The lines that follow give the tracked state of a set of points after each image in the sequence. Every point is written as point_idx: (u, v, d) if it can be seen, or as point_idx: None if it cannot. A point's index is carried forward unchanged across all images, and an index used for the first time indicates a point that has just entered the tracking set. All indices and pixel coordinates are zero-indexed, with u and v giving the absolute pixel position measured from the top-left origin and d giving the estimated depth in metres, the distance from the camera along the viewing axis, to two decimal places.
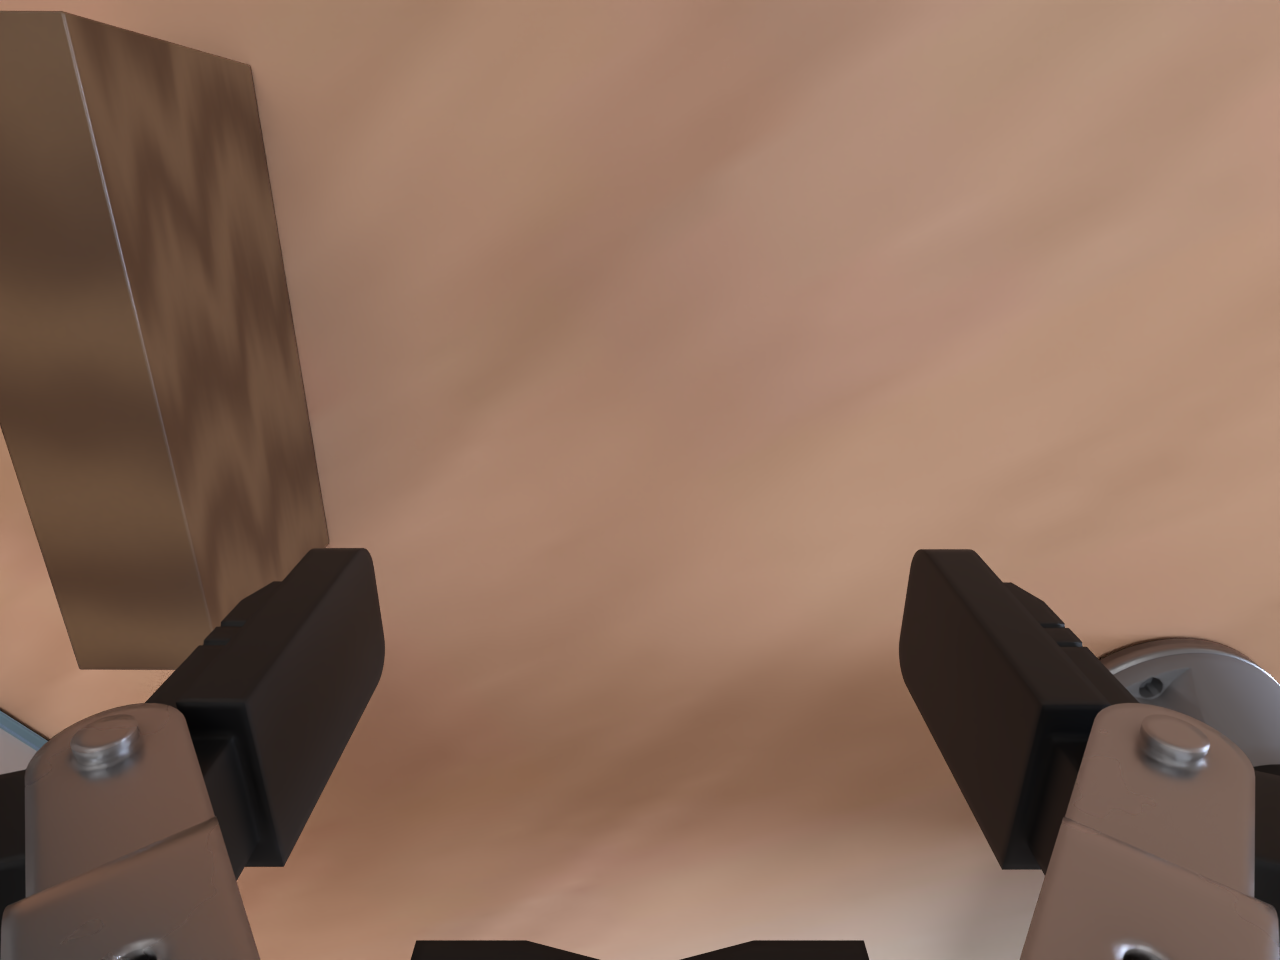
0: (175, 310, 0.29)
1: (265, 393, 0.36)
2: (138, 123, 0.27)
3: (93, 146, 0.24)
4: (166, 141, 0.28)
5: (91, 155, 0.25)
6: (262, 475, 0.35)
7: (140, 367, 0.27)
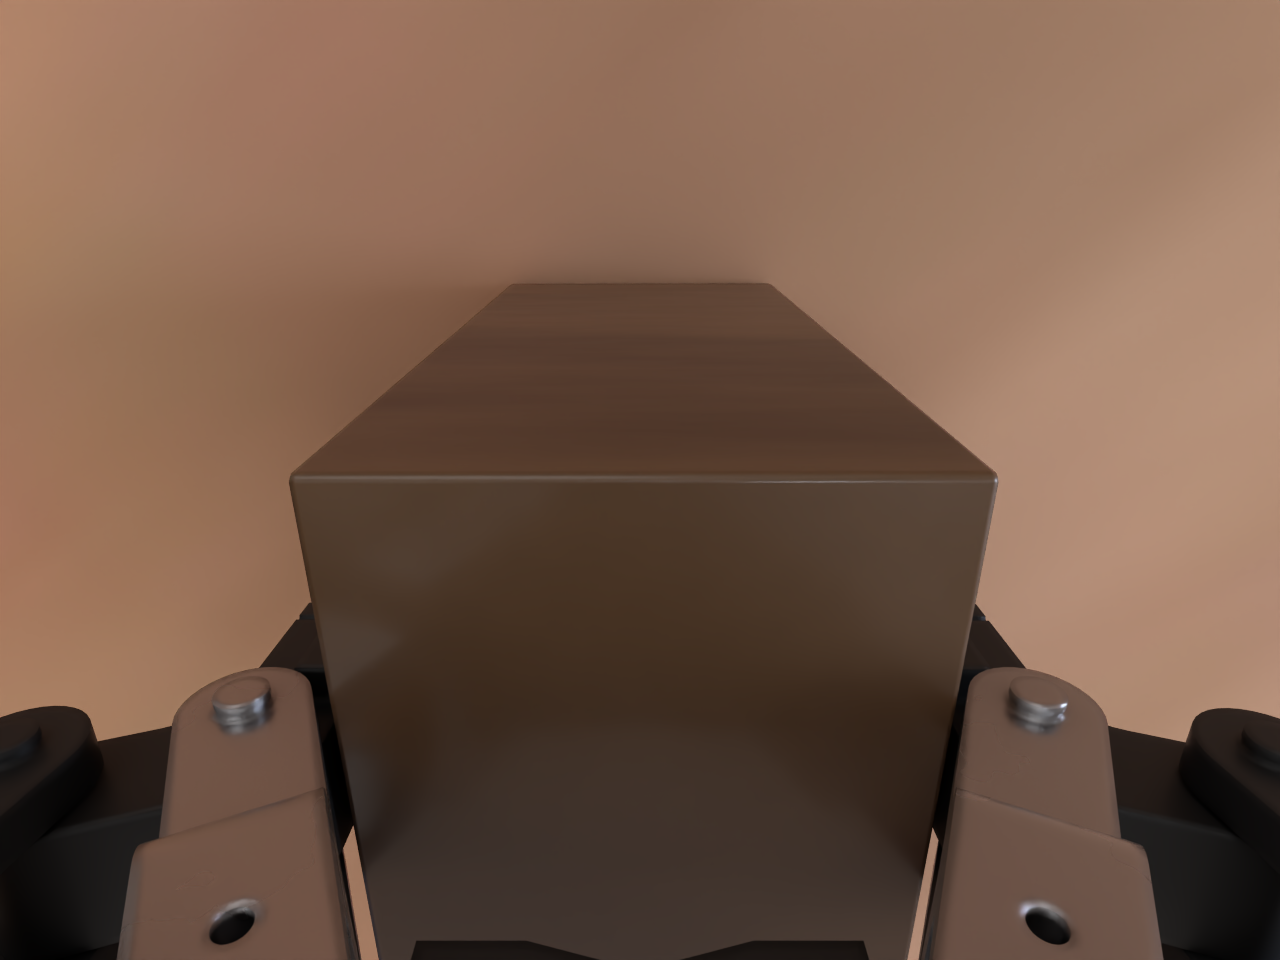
0: None
1: None
2: None
3: (930, 817, 0.08)
4: None
5: (913, 838, 0.08)
6: None
7: None
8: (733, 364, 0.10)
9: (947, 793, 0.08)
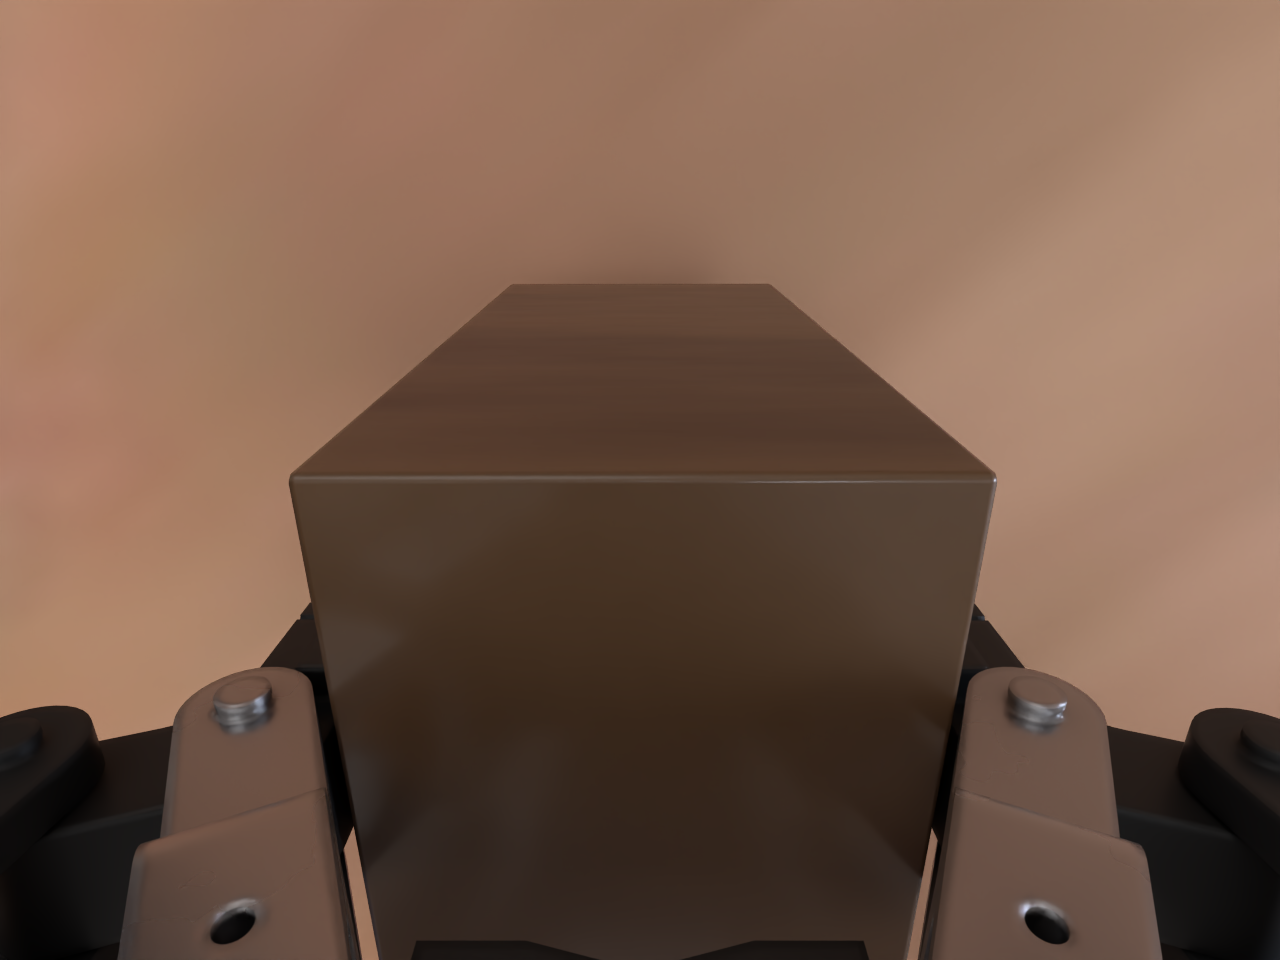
0: None
1: None
2: None
3: (930, 817, 0.08)
4: None
5: (912, 837, 0.08)
6: None
7: None
8: (732, 364, 0.10)
9: (947, 793, 0.08)
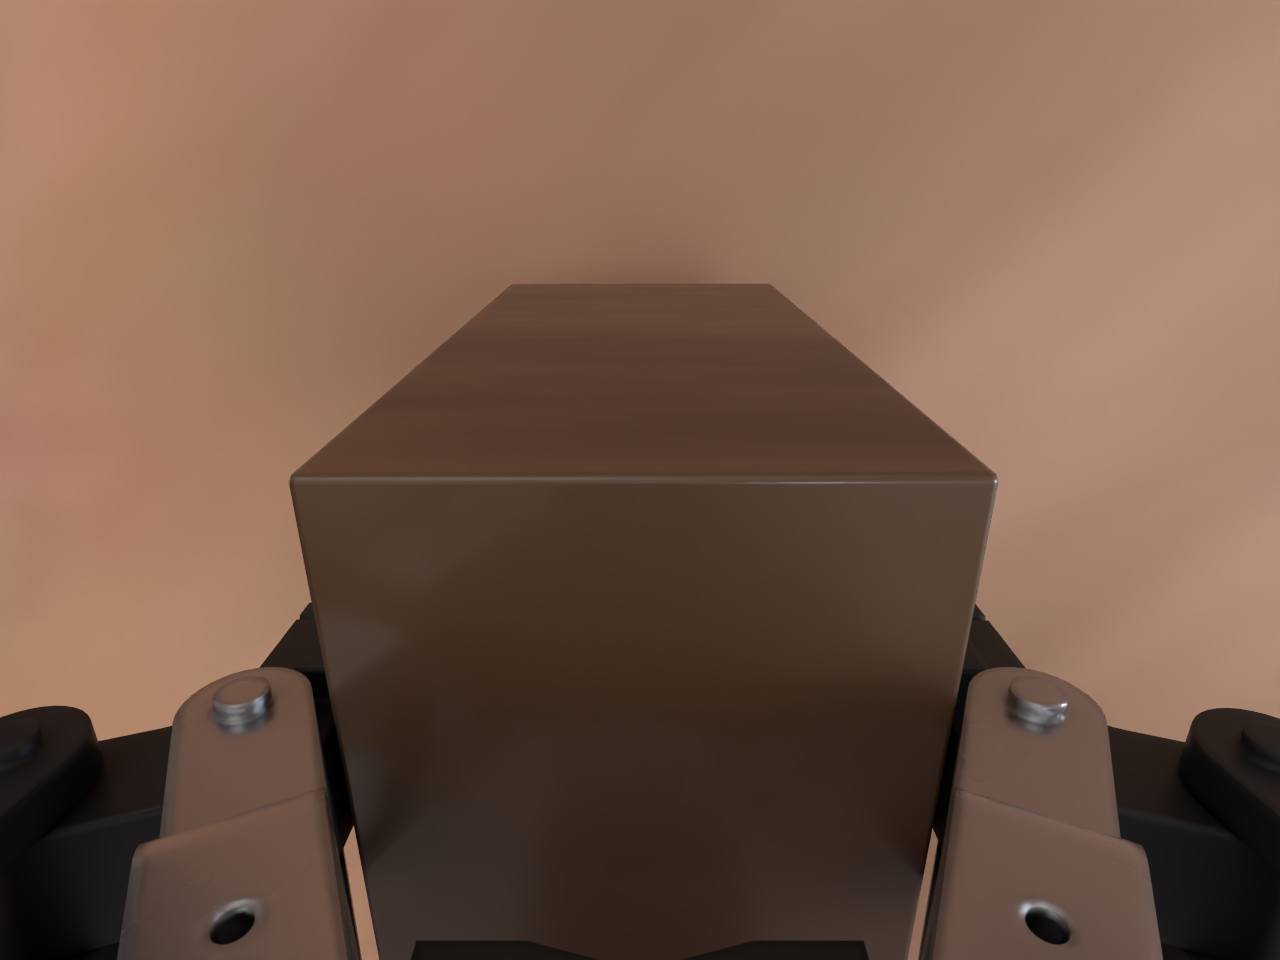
0: None
1: None
2: None
3: (931, 817, 0.08)
4: None
5: (914, 838, 0.08)
6: None
7: None
8: (733, 365, 0.10)
9: (947, 793, 0.08)
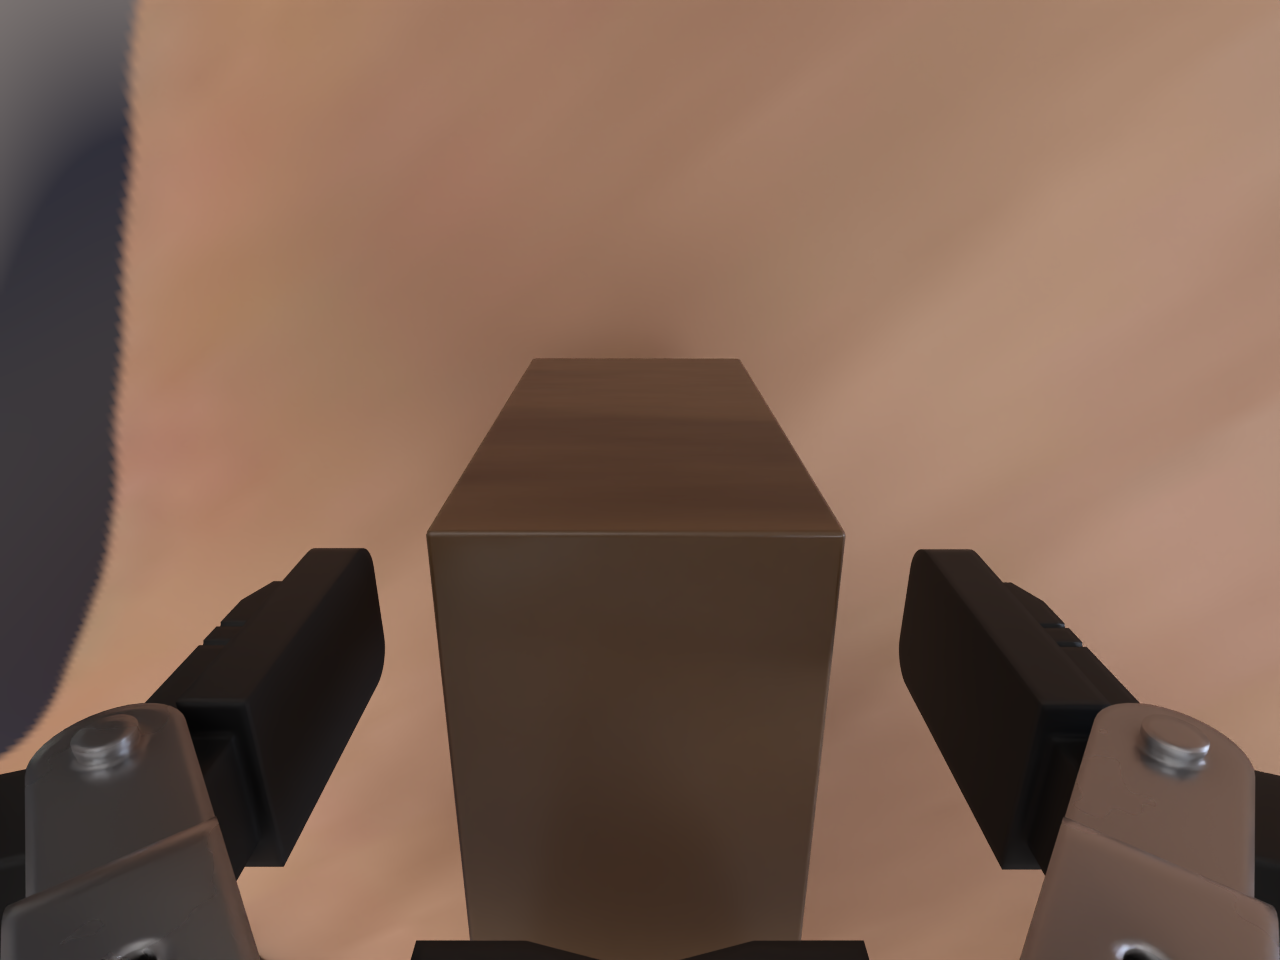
0: None
1: None
2: None
3: (819, 746, 0.12)
4: None
5: (809, 760, 0.12)
6: None
7: None
8: (699, 445, 0.14)
9: None
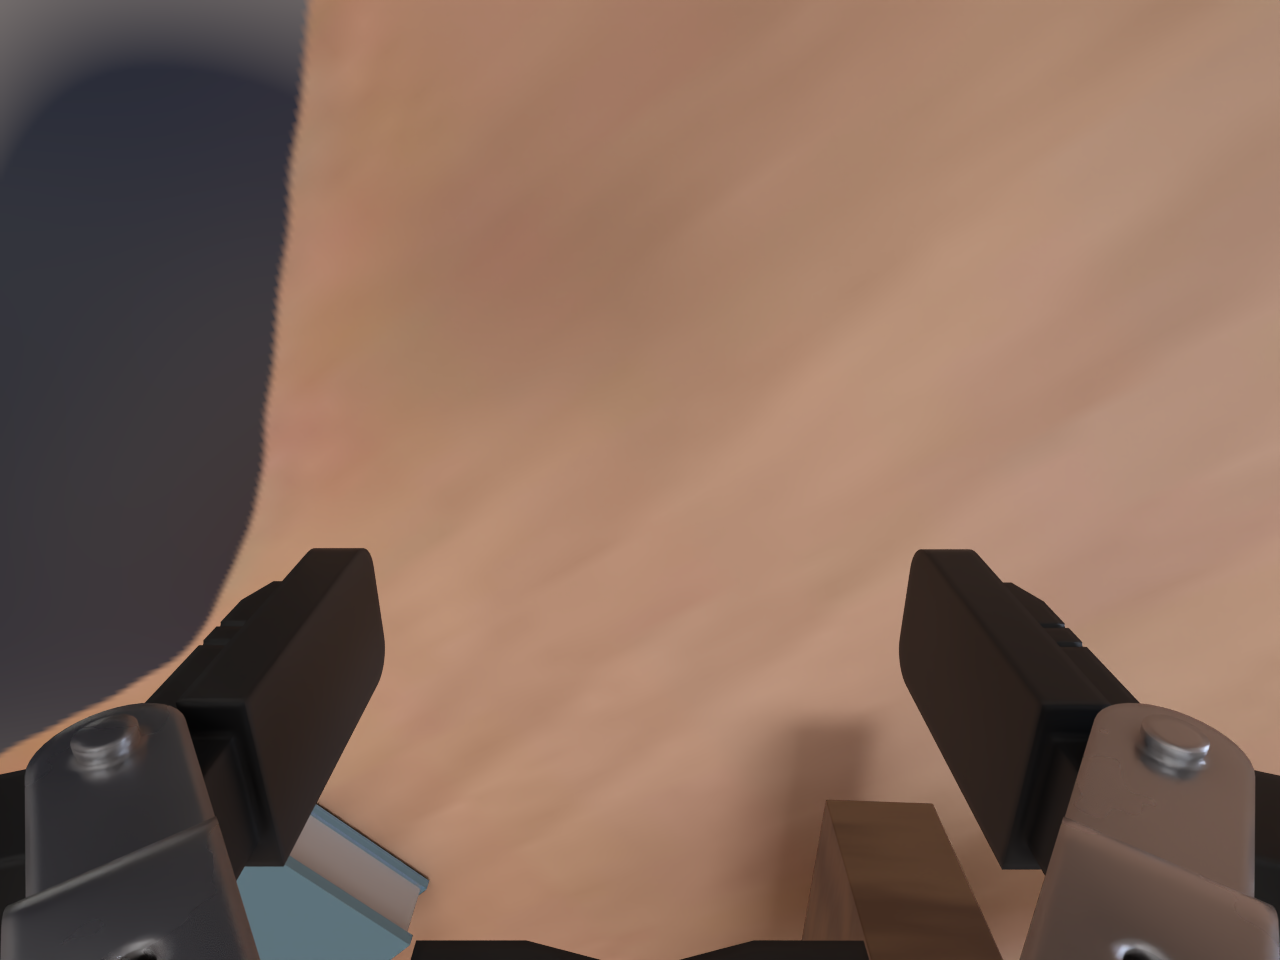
0: None
1: None
2: None
3: None
4: None
5: None
6: None
7: None
8: (954, 936, 0.35)
9: None
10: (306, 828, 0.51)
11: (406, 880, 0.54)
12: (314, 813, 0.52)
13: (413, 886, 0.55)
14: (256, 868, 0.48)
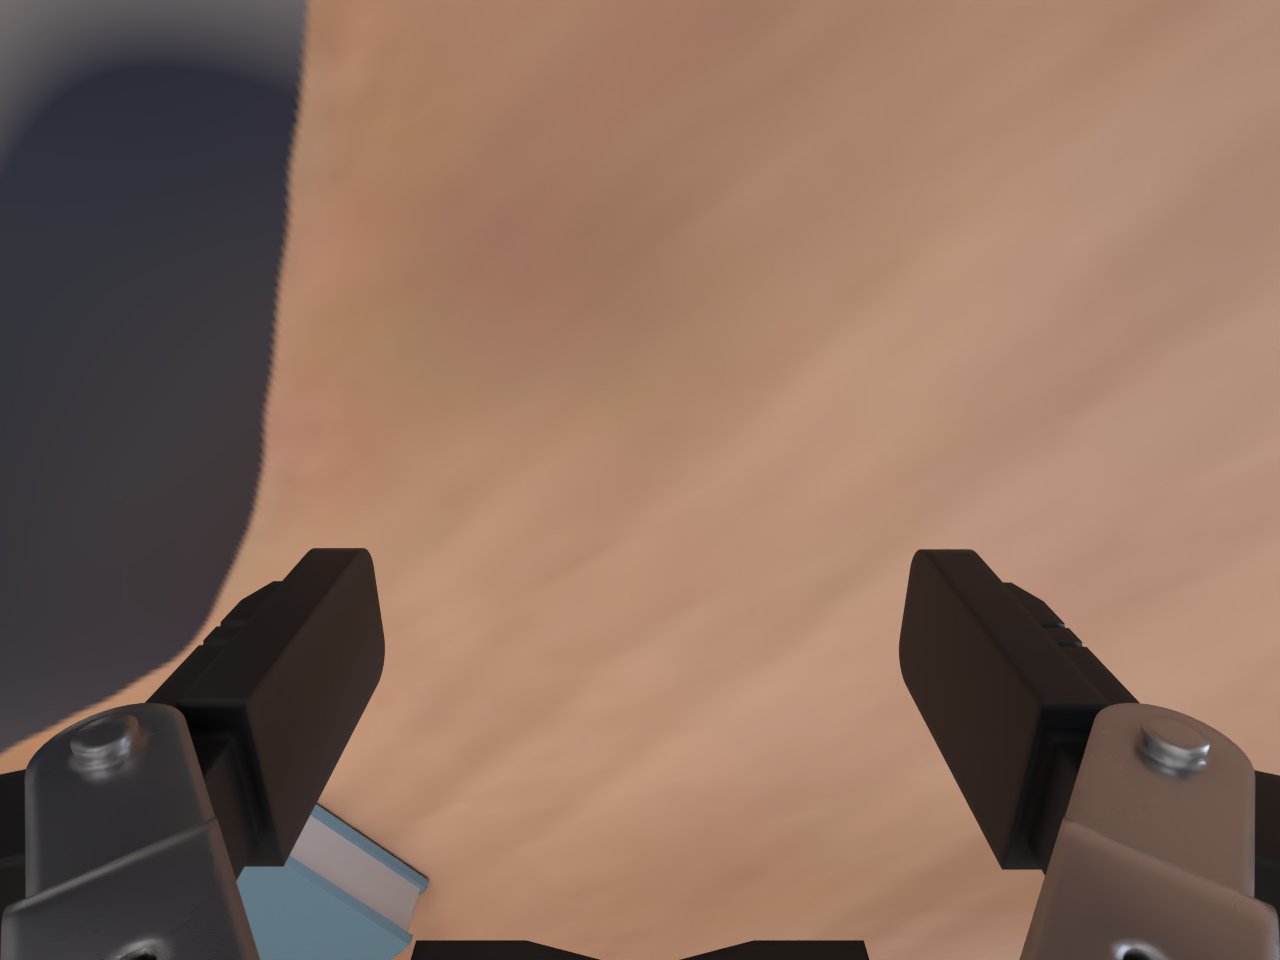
0: None
1: None
2: None
3: None
4: None
5: None
6: None
7: None
8: None
9: None
10: (306, 828, 0.51)
11: (406, 880, 0.54)
12: (314, 813, 0.52)
13: (413, 886, 0.55)
14: (256, 868, 0.48)
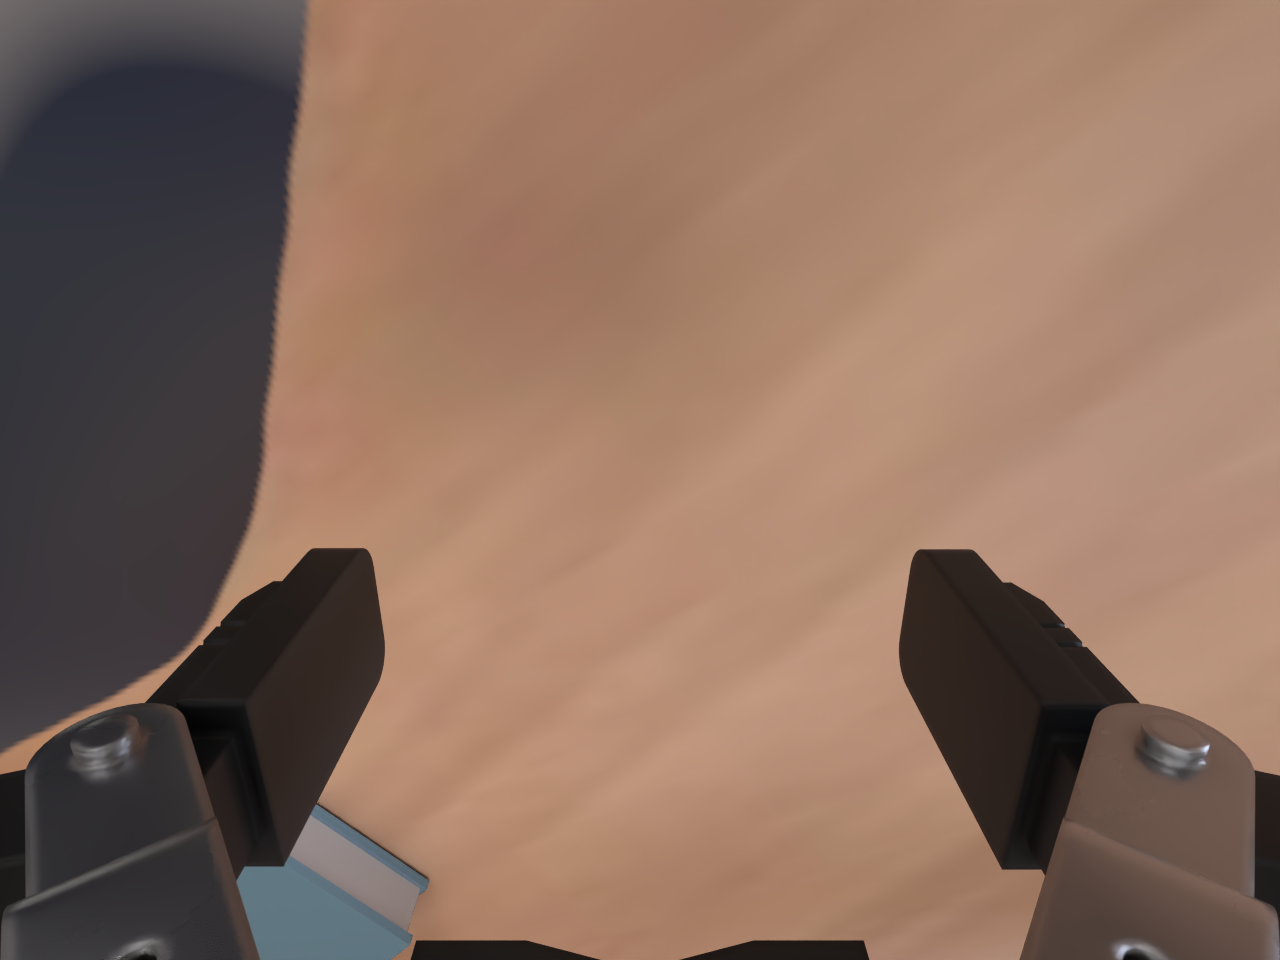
0: None
1: None
2: None
3: None
4: None
5: None
6: None
7: None
8: None
9: None
10: (306, 828, 0.51)
11: (406, 880, 0.54)
12: (314, 813, 0.52)
13: (413, 886, 0.55)
14: (256, 868, 0.48)
